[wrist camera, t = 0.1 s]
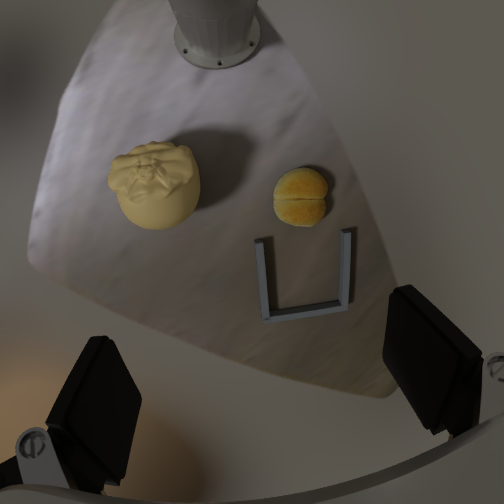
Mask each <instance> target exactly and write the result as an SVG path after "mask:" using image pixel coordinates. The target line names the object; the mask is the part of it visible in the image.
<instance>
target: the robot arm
mask: <svg viewBox="0 0 504 504" xmlns="http://www.w3.org/2000/svg"><path fill="white" fill-rule="evenodd" d="M168 1H169V3H170V6H171V8H172V10H173V13H174V15H175V17H176V20H177V24H176V27H175V31H174V40H175V45H176V47H177V49H178V51H179V53H180V54H181V56H182V57H183V58H184V59H185V60H187V61H188V62H189V63H191V64H193V65H195V66H197V67H200V68H204V69H212V70H217V69H225V68H229V67H232V66H235V65H237V64H239V63H241V62H243V61H244V60H246V59H247V58H248V57H249V56H250V55H251V54H252V53H253V51H254V50H255V49H256V47H257V45H258V42H259V39H260V25H259V22H258V19H257V18H256V16H255V15H254V14H255V9H256V5H257V1H258V0H168ZM250 44H252V45H253V46H250ZM185 52H188V53H186V54H185ZM219 63H221V64H222V65H221V66H220V65H218V64H219ZM481 355H482V351H481V350H480V349H479V348H478V347H477V346H476V345H475V344H474V343H473V342H472V341H471V340H470V339H469V338H468V337H467V336H466V335H464V333H463V332H462V331H461V330H460V329H459V328H458V327H457V326H455V324H453V323H452V322H451V321H450V320H449V319H448V318H447V317H446V316H445V315H444V314H443V313H442V312H441V311H440V310H439V309H438V308H437V307H435V306H434V305H433V304H432V303H431V302H430V301H429V300H428V299H427V298H425V297H424V296H423V295H422V294H421V293H420V292H419V291H418V290H417V289H416V288H414V287H413V286H412V285H405V286H401V287H397V288H395V289H394V291H393V293H391V294H390V296H389V305H388V315H387V324H386V332H385V339H384V346H383V353H382V356H383V361H384V363H385V365H386V366H387V368H388V369H389V371H390V372H391V374H392V376H393V377H394V379H395V380H396V382H397V384H398V385H399V387H400V388H401V390H402V392H403V393H404V395H405V396H406V398H407V400H408V401H409V403H410V405H411V406H412V408H413V410H414V411H415V413H416V414H417V416H418V418H419V419H420V421H421V423H422V425H423V426H424V428H426V429H427V430H428V429H430V431H431V432H432V434H433V435H436V434H437V433H440V432H441V431H444V430H445V429H447V430H448V432H449V439H448V441H447V442H445V443H443V444H441V445H439V446H437V447H435V448H433V449H431V450H429V451H427V452H424V453H422V454H420V455H418V456H415V457H413V458H411V459H409V460H406V461H404V462H402V463H399V464H397V465H394V466H392V467H389V468H386V469H383V470H380V471H378V472H375V473H372V474H369V475H366V476H363V477H360V478H356V479H353V480H350V481H346V482H343V483H339V484H336V485H332V486H328V487H324V488H319V489H315V490H311V491H306V492H301V493H296V494H290V495H284V496H278V497H272V498H264V499H256V500H247V501H234V502H216V503H173V502H172V503H171V502H155V501H144V500H134V499H126V498H119V497H112V496H107V494H106V492H105V491H104V484H107V485H113V486H120V481H121V479H123V478H124V477H125V474H126V469H127V464H128V459H129V454H130V450H131V445H132V441H133V436H134V432H135V427H136V423H137V419H138V415H139V411H140V407H141V403H142V398H141V394H140V392H139V390H138V388H137V386H136V385H135V383H134V381H133V379H132V377H131V375H130V373H129V371H128V369H127V367H126V365H125V363H124V361H123V359H122V357H121V355H120V353H119V351H118V349H117V347H116V345H115V343H114V341H113V340H111V339H109V337H107V336H93V337H91V338H90V339H89V340H88V342H87V344H86V346H85V347H84V349H83V351H82V352H81V354H80V356H79V358H78V360H77V362H76V363H75V365H74V367H73V369H72V371H71V372H70V374H69V376H68V378H67V380H66V382H65V384H64V386H63V388H62V390H61V391H60V394H59V395H58V397H57V399H56V401H55V403H54V405H53V407H52V410H51V411H50V414H49V416H48V418H47V420H46V422H45V423H46V425H47V426H48V427H49V428H48V430H47V431H46V430H44V429H43V428H39V427H33V428H30V429H28V430H26V431H25V432H23V433H22V434H21V435H20V436H19V438H18V440H17V442H16V447H15V449H16V456H14V457H12V458H10V459H8V460H6V461H5V462H3V463H1V464H0V504H504V353H503V352H496V353H492V354H490V355H488V356H487V357H486V358H485V360H484V359H483V358H482V357H481Z"/></svg>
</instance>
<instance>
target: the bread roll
mask: <svg viewBox="0 0 504 504" xmlns="http://www.w3.org/2000/svg"><path fill="white" fill-rule="evenodd" d="M327 192H328V185H327V182H326V181H325V179H324V178H323V177H322V176H321V175H320V174H319V173H318V172H316V171H314V170H313V169H310V168H305V167H302V168H296V169H293V170H291V171H289V172H287V173H286V174H284V175H283V176H282V177H281V178H280V179H279V181H278V182H277V185H276V187H275V190H274V209H275V212H276V215H277V216H278V218H279V219H280V220H282V221H284V222H285V223H288V224H292V225H294V226H306V227H312V226H313V225H314V224H316V223H318V222H319V221H320V220H321V219H322V218H323V216H324V214H325V211H326V203H325V200H324V197H325V196H326V194H327Z"/></svg>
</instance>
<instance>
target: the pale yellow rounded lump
mask: <svg viewBox="0 0 504 504" xmlns="http://www.w3.org/2000/svg"><path fill="white" fill-rule="evenodd" d="M108 184H109V187H110V188H111V189H112V190H113V191H114V192H116V194H117V197H118V201H119V204H120V206H121V209H122V211H123V212H124V214H125V215H126V216H127V218H128V219H129V220H130V221H132V222H133V223H134V224H136V225H138V226H140V227H143V228H146V229H152V230H161V229H167V228H171V227H174V226H176V225H178V224H180V223H182V222H183V221H185V220H186V219H187V218H188V217H189V216H190V215H191V214H192V213H193V211H194V210H195V208H196V206H197V203H198V200H199V196H200V176H199V170H198V166H197V163H196V161H195V159H194V156H193V154H192V151H191V149H190V148H189V147H186V146H184V145H180V146H178V147H176V146H175V145H174V144H173V143H170V142H155V141H152V142H150V143H148V144H146V145H140V146H137V147H135V148H134V149H132V151H131V152H130V153H128V154H127V155H119V156H117V157H116V158H115V159H114V160H113V162H112V168H111V170H110V173H109V177H108Z"/></svg>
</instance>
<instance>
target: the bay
mask: <svg viewBox="0 0 504 504" xmlns="http://www.w3.org/2000/svg"><path fill="white" fill-rule="evenodd" d="M254 243H255V253H256V263H257V273H258V283H259V293H260V304H261V314H262V321H263V324H264V323H272V322H279V321H286V320H292V319H299V318H305V317H312V316H318V315H324V314H329V313H335V312H341V311H346V310H348V298H349V281H350V257H351V232H350V231H348V230H347V229H346V230H340V279H339V301H334V302H328V303H322V304H316V305H309V306H303V307H296V308H289V309H282V310H275V311H269V305H268V293H267V281H266V269H265V258H264V247H263V241H262V239H258V240H254Z"/></svg>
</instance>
